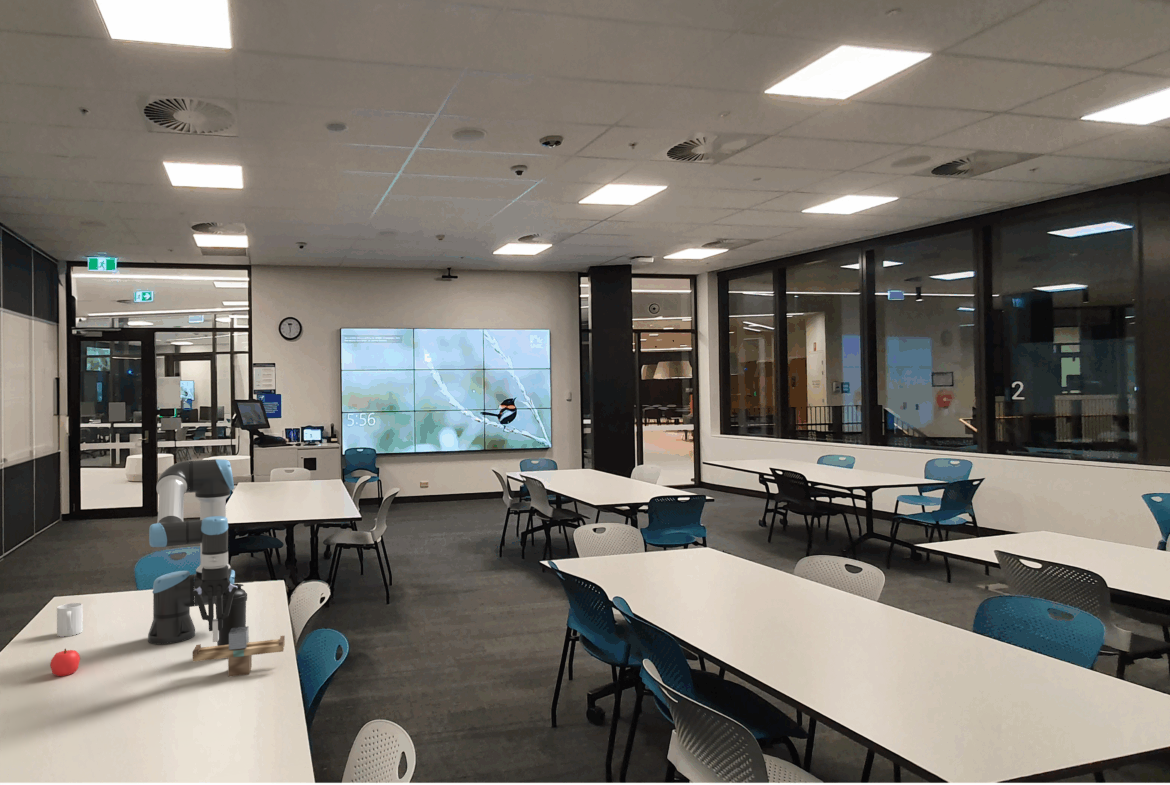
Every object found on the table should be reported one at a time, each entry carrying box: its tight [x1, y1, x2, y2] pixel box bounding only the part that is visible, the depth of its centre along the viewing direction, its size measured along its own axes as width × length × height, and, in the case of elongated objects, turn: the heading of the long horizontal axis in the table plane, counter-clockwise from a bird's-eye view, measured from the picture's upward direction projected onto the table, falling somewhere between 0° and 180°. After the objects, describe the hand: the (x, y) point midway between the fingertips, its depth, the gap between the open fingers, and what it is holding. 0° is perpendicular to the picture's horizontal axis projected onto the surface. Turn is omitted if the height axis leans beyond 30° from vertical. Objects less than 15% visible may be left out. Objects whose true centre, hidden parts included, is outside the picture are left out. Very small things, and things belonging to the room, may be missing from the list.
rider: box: [229, 625, 250, 650], centre depth 237 cm, size 5×6×7 cm
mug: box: [56, 602, 84, 638], centre depth 276 cm, size 12×8×10 cm, turn 32°
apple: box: [50, 648, 81, 677], centre depth 237 cm, size 8×8×8 cm
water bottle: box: [214, 583, 248, 646], centre depth 254 cm, size 10×10×23 cm
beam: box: [192, 635, 286, 678], centre depth 237 cm, size 26×7×9 cm, turn 109°
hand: (215, 640), depth 235 cm, fingers closed
